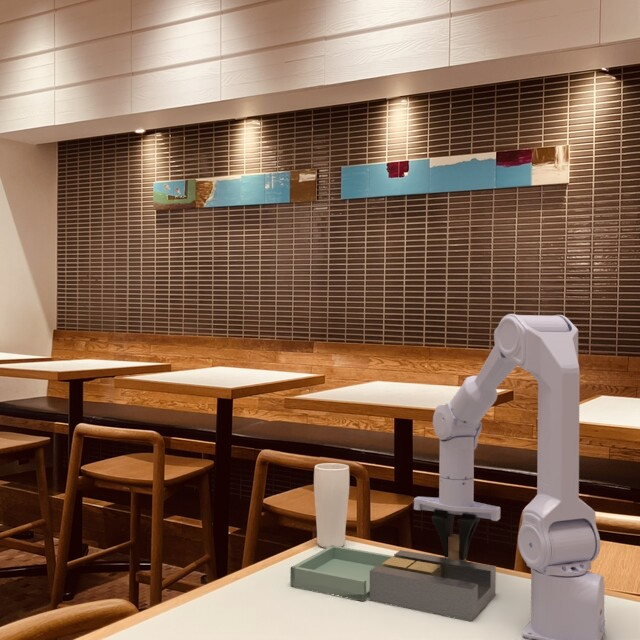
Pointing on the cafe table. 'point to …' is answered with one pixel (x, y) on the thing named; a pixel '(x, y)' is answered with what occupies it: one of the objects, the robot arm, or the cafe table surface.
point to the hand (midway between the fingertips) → (455, 557)
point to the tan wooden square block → (398, 563)
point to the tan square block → (425, 568)
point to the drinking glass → (331, 503)
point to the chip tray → (338, 572)
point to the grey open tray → (436, 586)
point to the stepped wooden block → (453, 547)
